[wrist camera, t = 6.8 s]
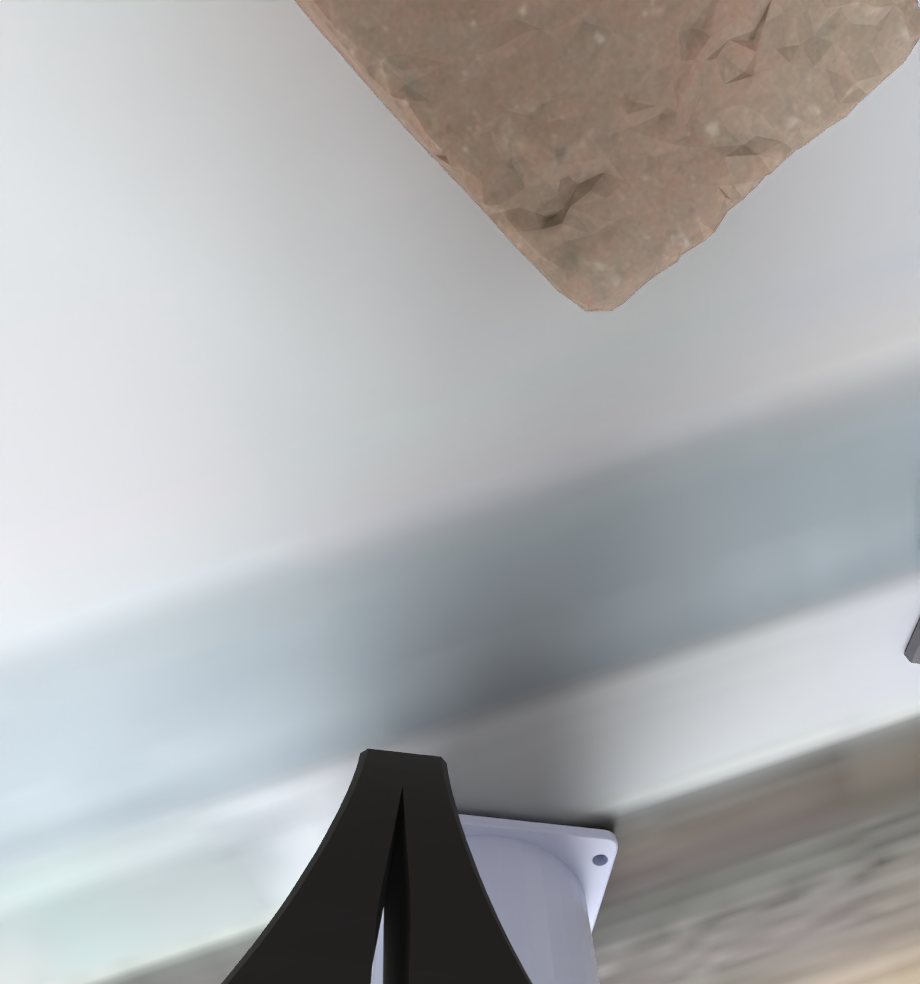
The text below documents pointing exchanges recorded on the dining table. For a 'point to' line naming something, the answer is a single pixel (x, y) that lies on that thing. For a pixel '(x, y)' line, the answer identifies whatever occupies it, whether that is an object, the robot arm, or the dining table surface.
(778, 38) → the brick
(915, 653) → the mat
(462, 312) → the dining table surface
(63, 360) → the dining table surface
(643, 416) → the dining table surface
